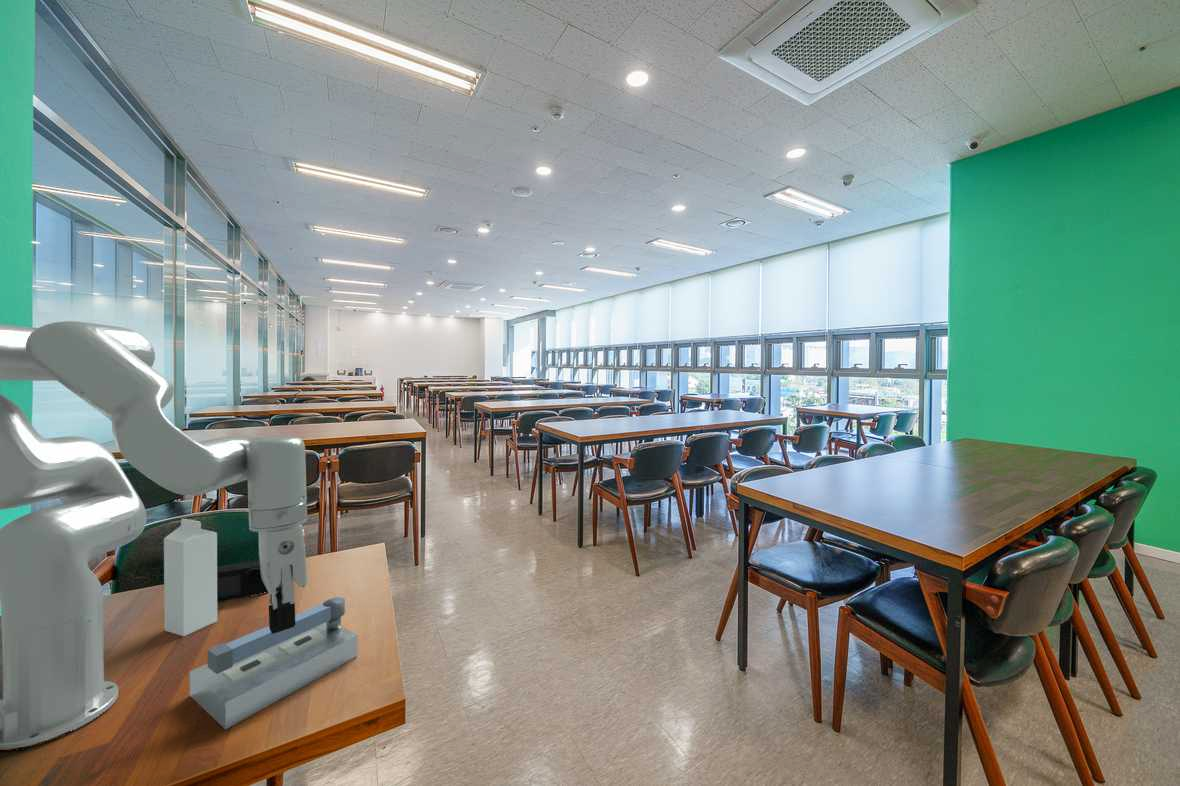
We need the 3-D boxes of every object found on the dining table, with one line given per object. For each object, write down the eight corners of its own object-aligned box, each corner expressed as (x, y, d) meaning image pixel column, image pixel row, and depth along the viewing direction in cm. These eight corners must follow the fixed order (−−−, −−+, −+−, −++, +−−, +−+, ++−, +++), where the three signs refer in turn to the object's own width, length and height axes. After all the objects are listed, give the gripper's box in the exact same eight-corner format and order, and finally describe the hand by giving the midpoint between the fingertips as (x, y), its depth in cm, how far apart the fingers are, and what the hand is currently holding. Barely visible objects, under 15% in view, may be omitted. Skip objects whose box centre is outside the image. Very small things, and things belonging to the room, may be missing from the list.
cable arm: (337, 608, 85) (337, 594, 85) (348, 614, 84) (348, 599, 83) (207, 666, 68) (207, 648, 68) (217, 674, 66) (217, 656, 66)
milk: (198, 616, 93) (198, 514, 93) (217, 621, 91) (218, 517, 91) (163, 631, 88) (163, 522, 87) (183, 637, 86) (183, 526, 85)
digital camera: (210, 606, 98) (209, 575, 97) (216, 595, 102) (215, 566, 102) (267, 595, 103) (267, 566, 103) (270, 586, 107) (270, 558, 107)
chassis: (225, 729, 64) (225, 687, 63) (189, 695, 70) (189, 658, 70) (358, 655, 81) (358, 622, 81) (320, 634, 88) (320, 603, 87)
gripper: (318, 519, 67) (321, 637, 67) (296, 501, 77) (299, 603, 78) (257, 532, 61) (261, 660, 62) (242, 510, 72) (246, 619, 72)
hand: (282, 628), depth 70 cm, fingers closed
